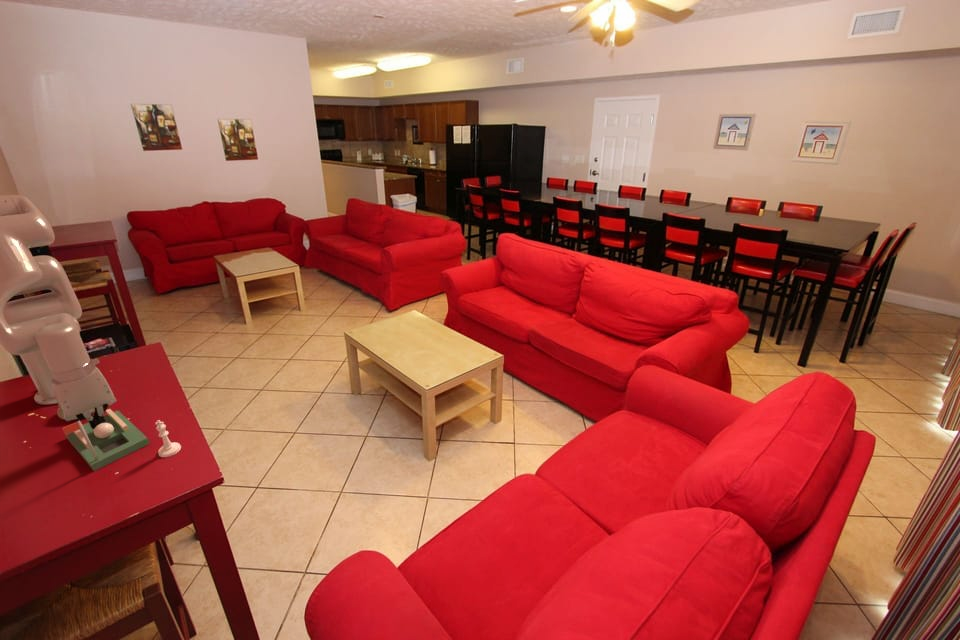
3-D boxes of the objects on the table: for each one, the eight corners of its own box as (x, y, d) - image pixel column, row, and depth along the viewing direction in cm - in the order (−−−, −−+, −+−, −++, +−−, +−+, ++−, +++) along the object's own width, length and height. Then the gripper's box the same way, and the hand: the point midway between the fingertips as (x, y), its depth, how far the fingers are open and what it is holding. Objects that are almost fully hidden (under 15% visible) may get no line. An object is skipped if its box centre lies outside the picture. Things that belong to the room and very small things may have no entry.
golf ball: (88, 426, 111) (93, 430, 109) (107, 418, 114) (112, 422, 112) (95, 438, 112) (100, 443, 110) (113, 430, 115) (118, 434, 113)
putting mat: (59, 441, 113) (37, 398, 107) (120, 415, 124) (103, 375, 117) (86, 474, 103) (63, 430, 97) (149, 443, 114) (132, 401, 107)
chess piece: (175, 456, 110) (164, 426, 105) (154, 458, 109) (142, 427, 105) (184, 443, 114) (173, 413, 110) (164, 445, 113) (152, 415, 109)
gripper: (104, 354, 114) (127, 409, 122) (28, 379, 102) (59, 437, 110) (115, 362, 110) (138, 419, 118) (38, 389, 99) (69, 449, 107)
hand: (100, 428), depth 114 cm, fingers closed
